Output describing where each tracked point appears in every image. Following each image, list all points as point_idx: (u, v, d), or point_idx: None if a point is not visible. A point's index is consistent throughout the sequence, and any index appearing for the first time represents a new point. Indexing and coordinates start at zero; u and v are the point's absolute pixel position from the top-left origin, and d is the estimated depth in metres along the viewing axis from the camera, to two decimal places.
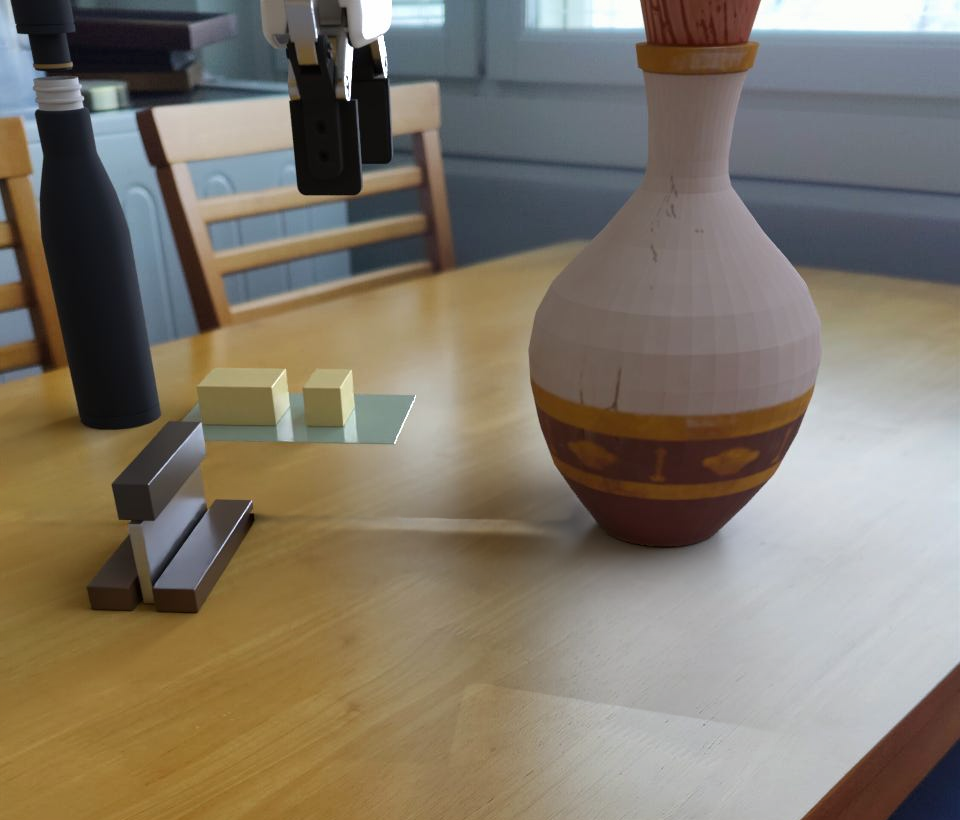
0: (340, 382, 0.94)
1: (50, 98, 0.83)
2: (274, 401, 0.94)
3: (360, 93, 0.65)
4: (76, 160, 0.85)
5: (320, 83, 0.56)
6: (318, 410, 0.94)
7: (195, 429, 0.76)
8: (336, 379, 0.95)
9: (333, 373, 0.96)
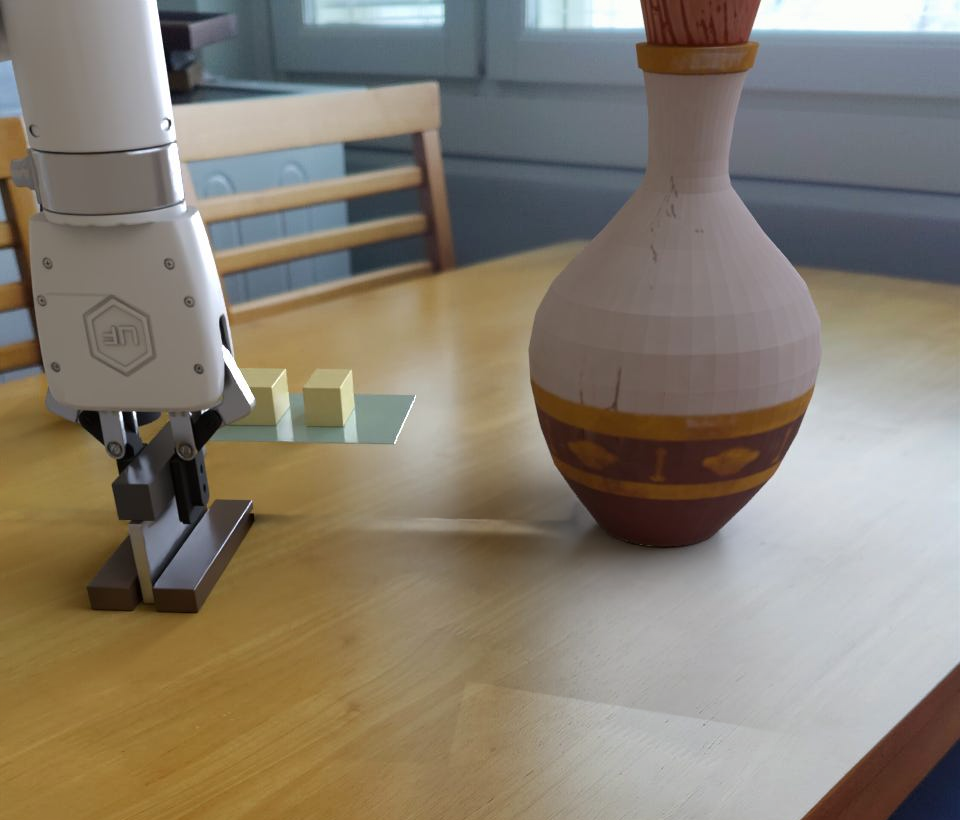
0: (340, 382, 0.94)
1: None
2: (274, 401, 0.94)
3: None
4: None
5: None
6: (318, 410, 0.94)
7: None
8: (336, 379, 0.95)
9: (333, 373, 0.96)
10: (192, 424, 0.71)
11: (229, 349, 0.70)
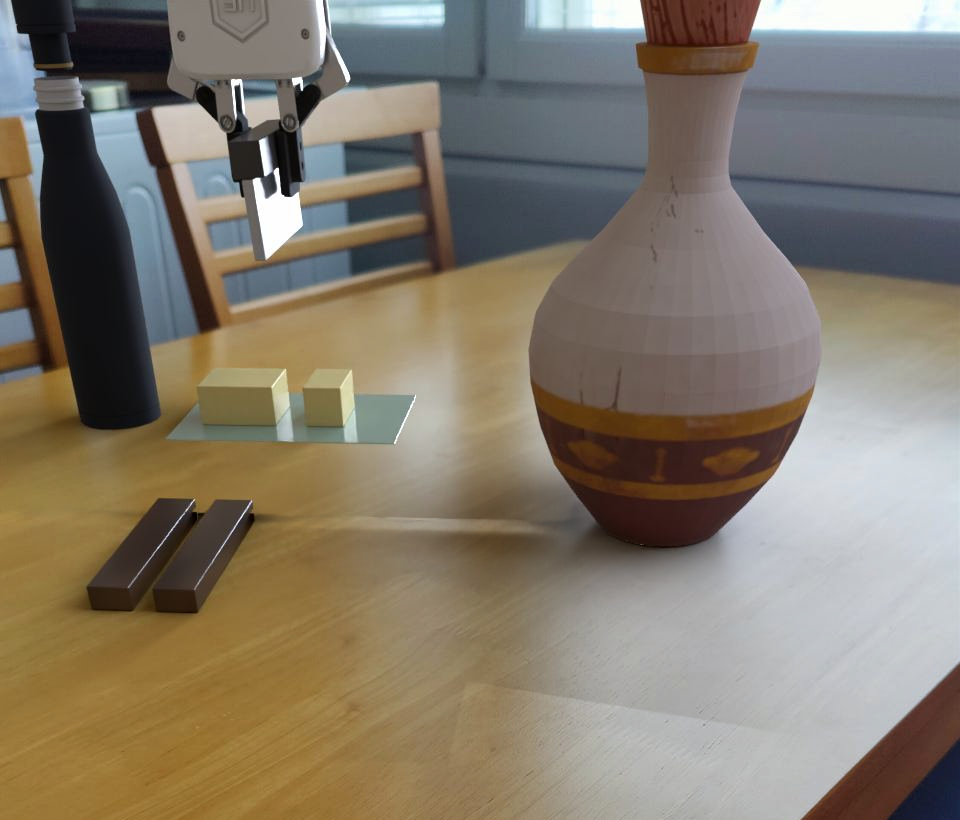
0: (340, 382, 0.94)
1: (50, 98, 0.83)
2: (274, 401, 0.94)
3: None
4: (77, 160, 0.85)
5: (309, 115, 0.84)
6: (318, 410, 0.94)
7: None
8: (336, 379, 0.95)
9: (333, 373, 0.96)
10: (295, 96, 0.82)
11: (328, 27, 0.81)
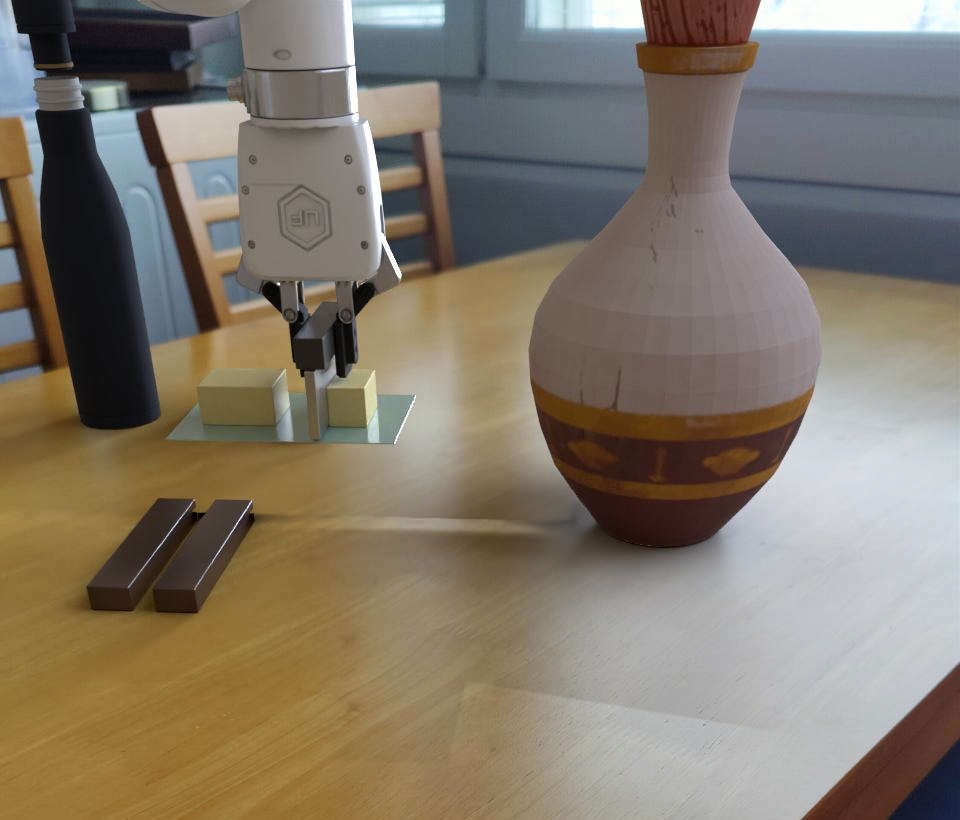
0: (364, 382, 0.94)
1: (50, 98, 0.83)
2: (274, 401, 0.94)
3: None
4: (77, 160, 0.85)
5: None
6: (342, 410, 0.94)
7: None
8: (359, 379, 0.95)
9: (356, 373, 0.96)
10: (352, 293, 0.90)
11: (383, 233, 0.89)
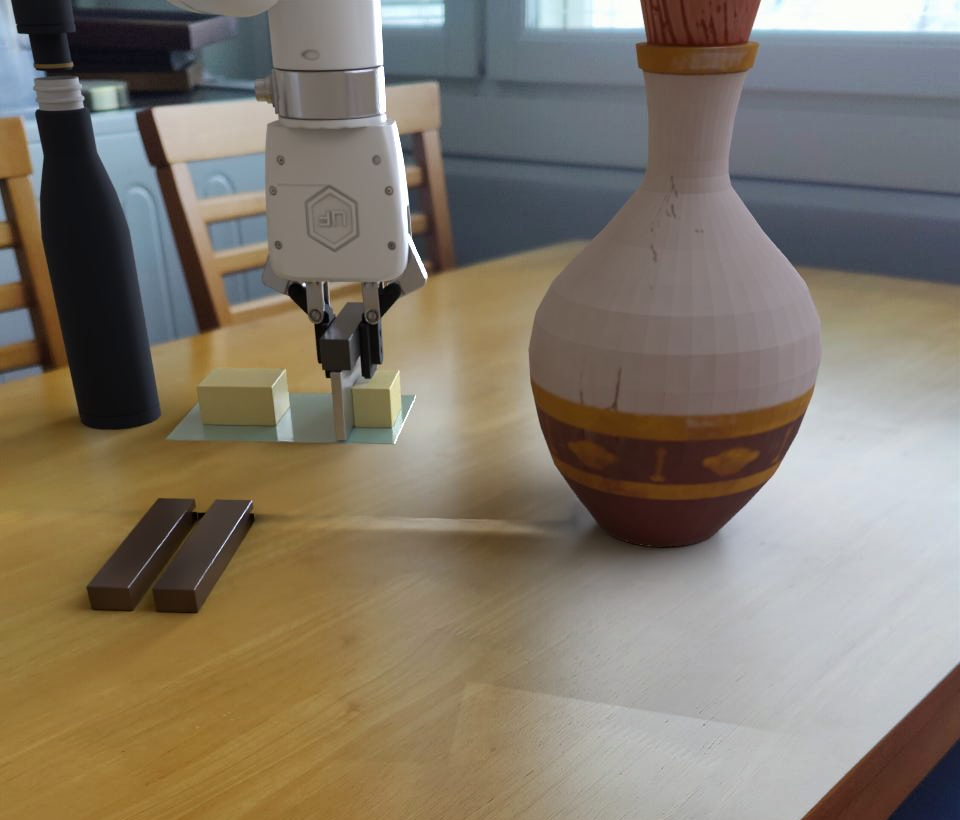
0: (389, 382, 0.94)
1: (50, 98, 0.83)
2: (274, 401, 0.94)
3: None
4: (77, 160, 0.85)
5: None
6: (367, 411, 0.94)
7: None
8: (384, 379, 0.95)
9: (381, 373, 0.96)
10: (378, 294, 0.90)
11: (410, 234, 0.89)
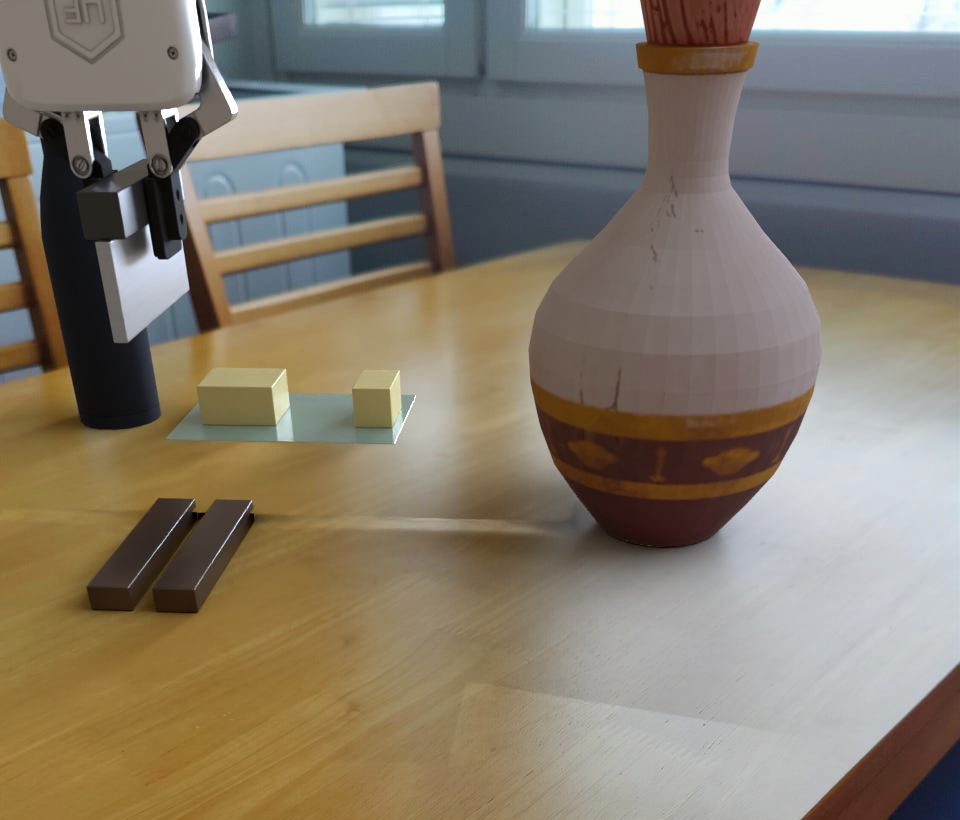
0: (389, 382, 0.94)
1: None
2: (274, 401, 0.94)
3: None
4: None
5: (187, 155, 0.65)
6: (367, 411, 0.94)
7: None
8: (384, 379, 0.95)
9: (381, 373, 0.96)
10: (167, 133, 0.63)
11: (207, 44, 0.62)
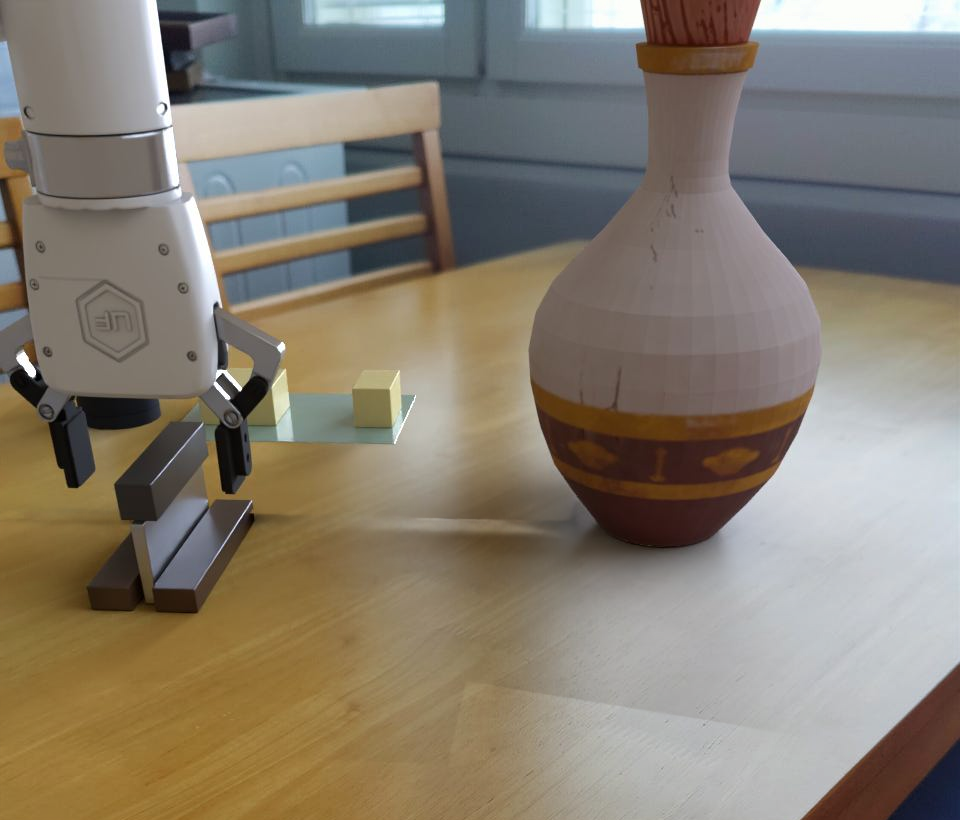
0: (389, 382, 0.94)
1: None
2: (274, 401, 0.94)
3: (77, 425, 0.73)
4: None
5: None
6: (367, 411, 0.94)
7: (197, 429, 0.76)
8: (384, 379, 0.95)
9: (381, 373, 0.96)
10: (221, 390, 0.70)
11: None
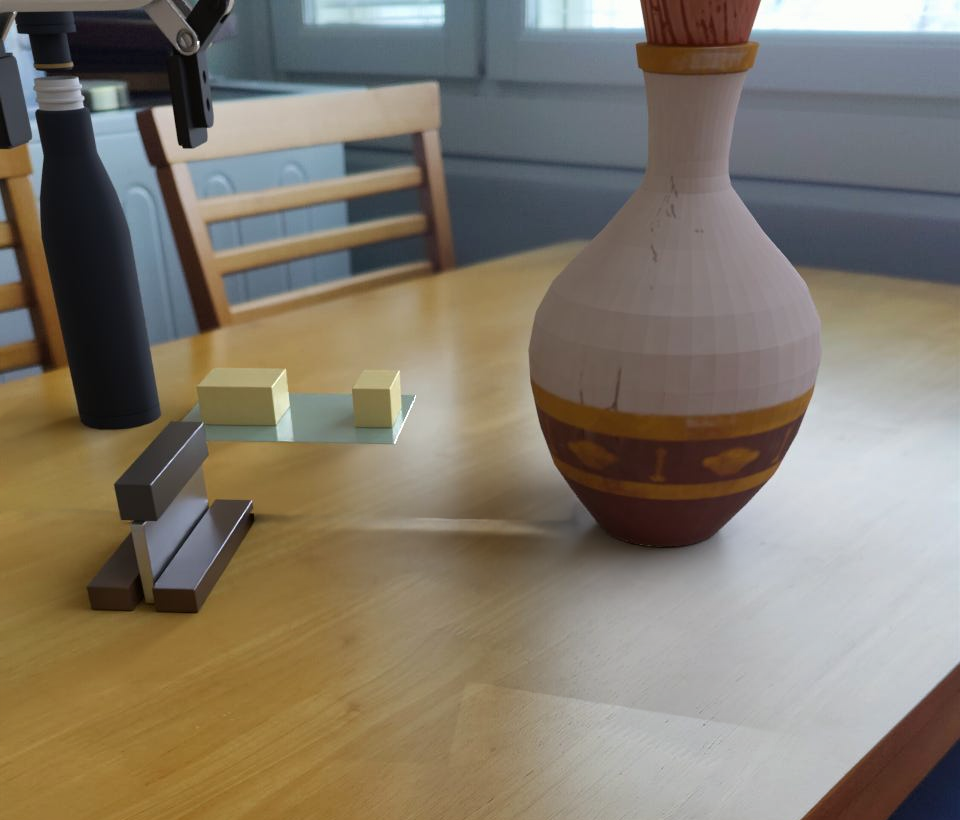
0: (389, 382, 0.94)
1: (50, 98, 0.83)
2: (274, 401, 0.94)
3: (6, 69, 0.62)
4: (77, 160, 0.85)
5: (215, 32, 0.60)
6: (367, 411, 0.94)
7: (197, 429, 0.76)
8: (384, 379, 0.95)
9: (381, 373, 0.96)
10: (173, 3, 0.58)
11: None
